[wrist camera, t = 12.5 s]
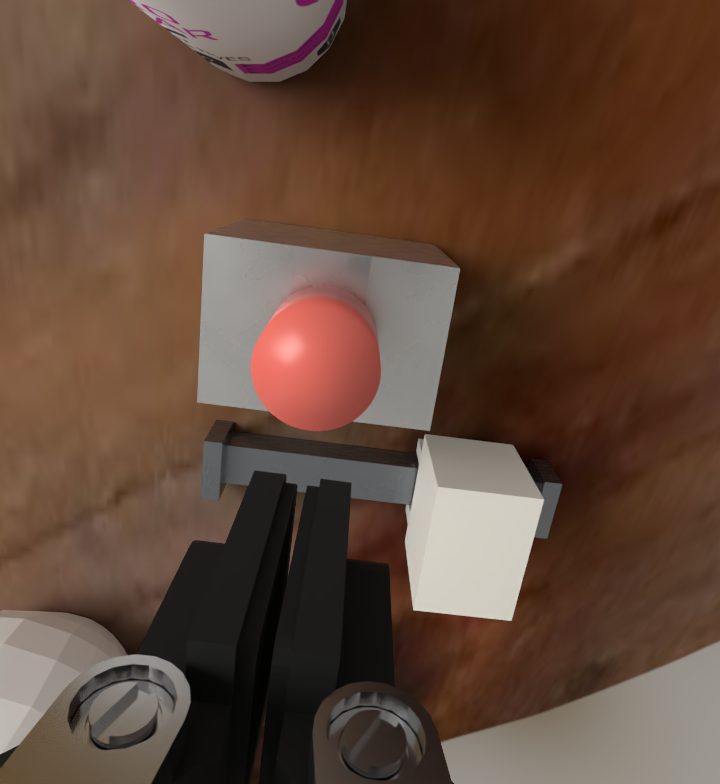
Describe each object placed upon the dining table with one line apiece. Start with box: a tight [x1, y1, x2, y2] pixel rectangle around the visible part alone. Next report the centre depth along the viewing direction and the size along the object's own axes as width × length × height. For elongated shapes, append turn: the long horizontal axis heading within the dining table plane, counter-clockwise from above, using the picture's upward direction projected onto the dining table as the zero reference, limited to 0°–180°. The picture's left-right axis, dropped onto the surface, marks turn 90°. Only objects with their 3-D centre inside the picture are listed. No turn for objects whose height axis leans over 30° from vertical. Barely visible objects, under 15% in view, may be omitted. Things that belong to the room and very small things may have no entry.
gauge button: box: [251, 286, 381, 431], centre depth 24 cm, size 4×4×8 cm
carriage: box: [405, 434, 544, 621], centre depth 32 cm, size 5×7×8 cm
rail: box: [201, 420, 562, 539], centre depth 35 cm, size 20×4×3 cm, turn 82°
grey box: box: [197, 219, 460, 431], centre depth 29 cm, size 10×7×9 cm
